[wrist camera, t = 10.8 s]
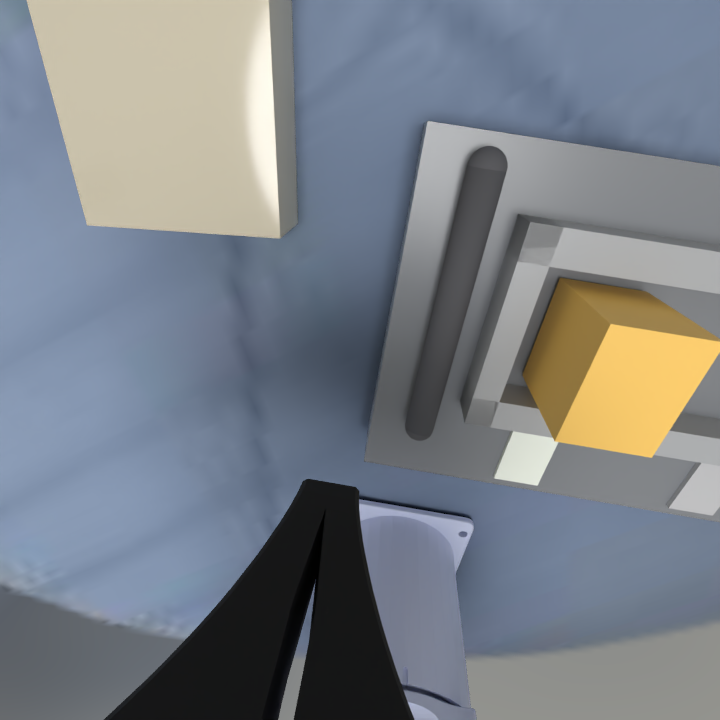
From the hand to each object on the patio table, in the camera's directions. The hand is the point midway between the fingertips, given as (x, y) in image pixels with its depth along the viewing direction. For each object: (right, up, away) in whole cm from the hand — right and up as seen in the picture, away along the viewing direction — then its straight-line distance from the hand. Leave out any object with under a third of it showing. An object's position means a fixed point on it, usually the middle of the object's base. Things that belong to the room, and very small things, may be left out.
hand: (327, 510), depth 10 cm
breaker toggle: (+9, +5, +5) cm, 11 cm away
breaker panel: (+13, +4, +7) cm, 16 cm away
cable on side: (+4, +6, +5) cm, 9 cm away
